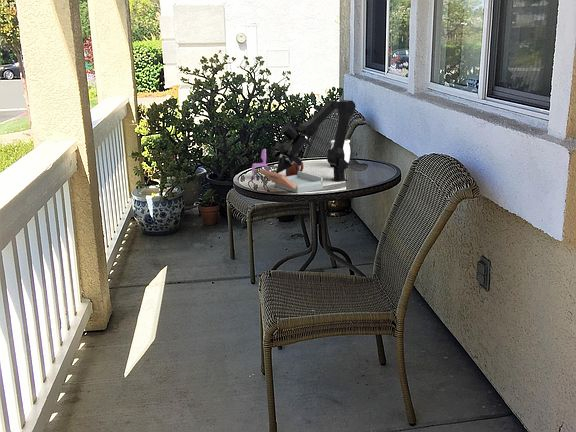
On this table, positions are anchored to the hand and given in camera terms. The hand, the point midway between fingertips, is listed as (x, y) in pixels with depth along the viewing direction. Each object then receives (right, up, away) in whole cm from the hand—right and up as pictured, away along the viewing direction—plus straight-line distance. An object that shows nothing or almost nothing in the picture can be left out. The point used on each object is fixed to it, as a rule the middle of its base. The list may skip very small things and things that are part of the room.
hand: (276, 172), depth 274 cm
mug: (+9, -1, +28) cm, 29 cm away
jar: (+35, +7, +52) cm, 63 cm away
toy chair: (-9, 0, +34) cm, 35 cm away
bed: (+10, -6, +8) cm, 15 cm away
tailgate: (+4, -5, +3) cm, 7 cm away
